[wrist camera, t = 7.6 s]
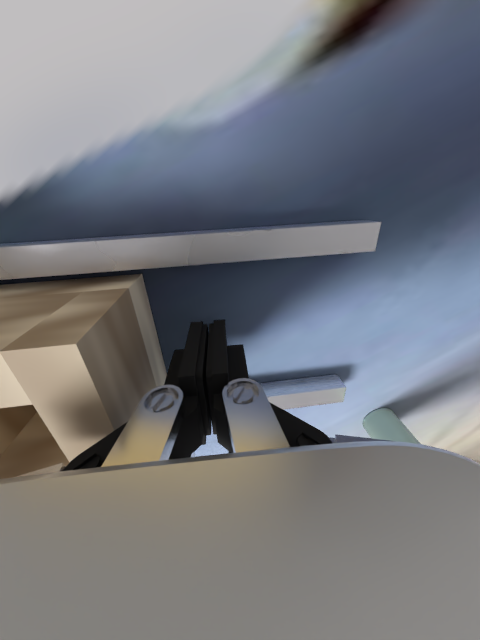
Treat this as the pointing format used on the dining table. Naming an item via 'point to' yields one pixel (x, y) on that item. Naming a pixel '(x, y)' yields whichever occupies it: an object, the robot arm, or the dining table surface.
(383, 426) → the dowel
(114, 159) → the dining table surface
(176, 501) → the robot arm
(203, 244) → the guide rails
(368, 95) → the dining table surface
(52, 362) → the socket block
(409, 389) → the dining table surface
